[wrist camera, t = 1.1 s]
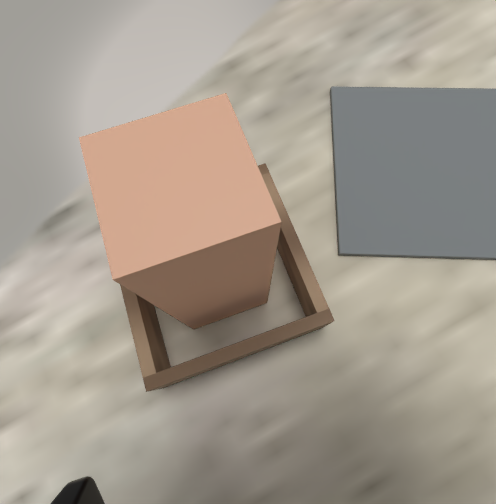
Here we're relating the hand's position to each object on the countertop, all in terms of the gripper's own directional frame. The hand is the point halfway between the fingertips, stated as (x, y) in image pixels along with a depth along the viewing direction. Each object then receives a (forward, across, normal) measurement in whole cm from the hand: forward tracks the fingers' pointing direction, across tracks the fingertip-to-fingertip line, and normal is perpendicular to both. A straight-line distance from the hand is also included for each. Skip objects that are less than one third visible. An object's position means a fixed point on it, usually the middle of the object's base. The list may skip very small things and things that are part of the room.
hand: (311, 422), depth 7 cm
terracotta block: (+16, +1, +2) cm, 16 cm away
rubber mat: (+18, -16, -2) cm, 24 cm away
